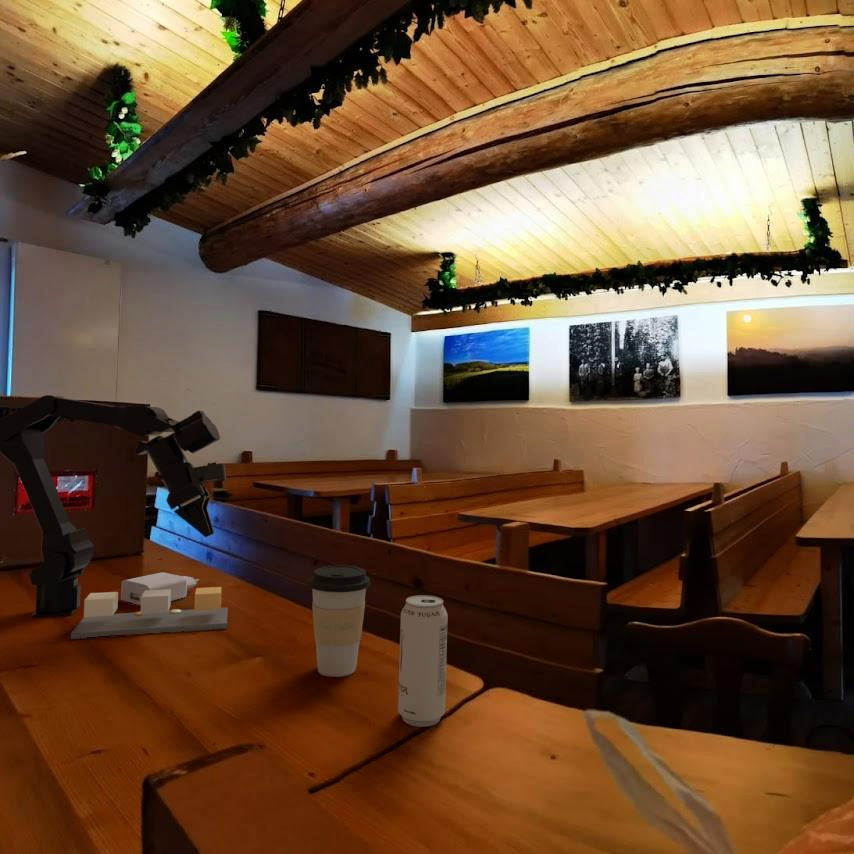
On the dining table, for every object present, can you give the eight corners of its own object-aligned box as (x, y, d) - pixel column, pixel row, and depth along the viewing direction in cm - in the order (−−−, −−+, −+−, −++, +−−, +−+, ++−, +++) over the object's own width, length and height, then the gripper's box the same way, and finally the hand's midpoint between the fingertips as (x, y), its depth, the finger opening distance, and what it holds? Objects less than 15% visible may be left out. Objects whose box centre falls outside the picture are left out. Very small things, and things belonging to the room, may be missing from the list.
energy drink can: (399, 705, 79) (402, 593, 80) (444, 707, 79) (447, 594, 79) (395, 727, 73) (399, 606, 74) (444, 730, 73) (448, 608, 73)
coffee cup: (316, 686, 85) (319, 580, 85) (298, 662, 93) (301, 566, 93) (377, 675, 89) (380, 575, 89) (355, 654, 97) (357, 562, 98)
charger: (209, 593, 132) (148, 609, 119) (181, 587, 136) (120, 602, 123) (210, 571, 132) (149, 585, 119) (182, 566, 136) (121, 579, 123)
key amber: (194, 610, 109) (194, 594, 109) (196, 603, 113) (196, 588, 113) (220, 609, 110) (220, 593, 110) (221, 602, 115) (221, 586, 115)
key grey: (140, 613, 106) (141, 597, 106) (144, 606, 110) (144, 590, 111) (167, 612, 108) (168, 595, 108) (170, 605, 112) (171, 589, 112)
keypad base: (70, 639, 100) (71, 632, 100) (85, 621, 110) (85, 614, 110) (226, 628, 108) (226, 622, 108) (227, 612, 118) (227, 606, 118)
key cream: (83, 617, 103) (84, 599, 104) (89, 609, 108) (90, 593, 108) (112, 615, 105) (113, 598, 105) (117, 608, 109) (118, 591, 109)
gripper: (208, 440, 109) (248, 514, 110) (214, 450, 127) (248, 515, 127) (148, 468, 106) (190, 545, 106) (163, 475, 124) (198, 541, 124)
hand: (210, 535), depth 116 cm, fingers open, 9 cm apart
